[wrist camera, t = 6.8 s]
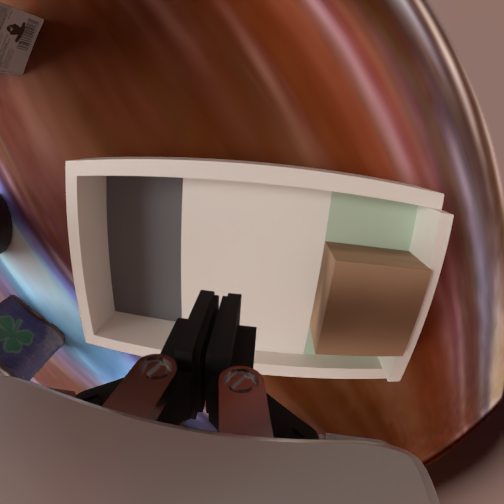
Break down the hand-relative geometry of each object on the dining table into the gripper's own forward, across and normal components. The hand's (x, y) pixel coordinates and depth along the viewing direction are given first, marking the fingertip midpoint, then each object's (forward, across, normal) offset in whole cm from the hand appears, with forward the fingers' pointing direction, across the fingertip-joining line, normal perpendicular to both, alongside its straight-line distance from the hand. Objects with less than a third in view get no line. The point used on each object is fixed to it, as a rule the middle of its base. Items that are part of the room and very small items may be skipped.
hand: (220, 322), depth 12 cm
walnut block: (+7, -8, +1) cm, 11 cm away
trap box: (+10, 0, +1) cm, 10 cm away
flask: (+10, +23, +11) cm, 27 cm away
